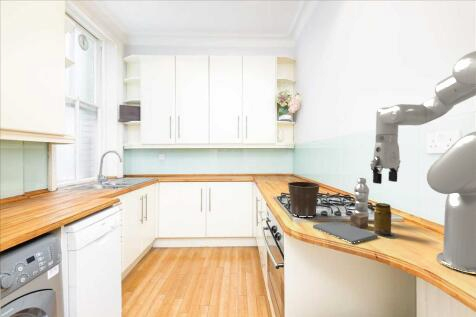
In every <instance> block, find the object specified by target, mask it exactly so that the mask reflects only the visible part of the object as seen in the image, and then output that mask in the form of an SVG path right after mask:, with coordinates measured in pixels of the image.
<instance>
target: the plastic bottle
mask: <svg viewBox="0 0 476 317" xmlns="http://www.w3.org/2000/svg"><path fill="white" fill-rule="evenodd" d="M366 183H367V178H366V177H365V178H364V177H358V178H357V183H356V185H355V187H354V188H353V189H354V199H355V200H354V202H355V203H354V211H353V214H357V213H359V214H362V215H366V216H368V219H369V217H370V212H369V207H368V201H369V195H370V188H369V187H368V185H367V184H366Z"/></svg>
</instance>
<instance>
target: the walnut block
mask: <svg viewBox="0 0 476 317" xmlns="http://www.w3.org/2000/svg"><path fill="white" fill-rule="evenodd" d="M349 225H351V226H354V227H357V228H360V229H366V228H369V218H368V216H366V215H362V214H359V213H357V214H354V213H352V214H349Z"/></svg>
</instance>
